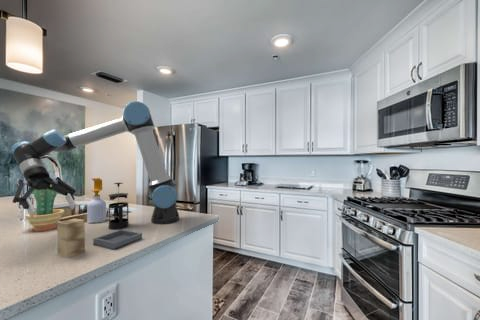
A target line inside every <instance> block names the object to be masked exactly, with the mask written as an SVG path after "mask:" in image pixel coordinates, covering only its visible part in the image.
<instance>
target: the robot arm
mask: <svg viewBox="0 0 480 320" xmlns="http://www.w3.org/2000/svg"><path fill="white" fill-rule="evenodd" d="M154 129H155V124H154V121H153V118H152V115H151V111H150V109H149V107H148V106H147V105H146V104H144V102H142V101H136V100H135V101H130V102H127V104H125V106H124V108H123V109H122V115H121V117H120V118H116V119H113V120H110V121H106V122H104V123H100V124H98V125H94V126H91V127H87V128H84V129H81V130H78V131H74V132H71V133H69V134H64V135H63V134H62V132H60V131H59V130H58V129H57V130H56V129H50V130H49V131H47V132H45V133H43V134H42V135H40V136H38V137H37V138H35V139H34V140H32V141H21V142H16V143H15V144H12V146H11V147H10V149H11V153H12V157H13V158H14V160H15V162H16V164H17V165H18V168H19V169H20V171H21V174H22V176H23V178H24V180H23V179H19V180H18V181H17V183H16V186H17V189H16V191H15V194H14V197H13V199H12V204H16V203H18V205H21V207H22V208H23V210H27V214H29V215H30V217H33V216H34V214H35V212H37V210H35V207H34V205H33V203H32V201H31V200H30V198H29V197H30V196H31V195H32V194H33V191H34V190H35V189H36V190H42V189H49V190H54V191H56V192H57V194H61V195H62V196H65V200H66V201H67V203H68V206H69V207H70V209H71V210H74V209H75V208H76V206H77V203H76V202H75V196H74V194H75V193H76V189H74V188H73V187H72V186H70V185H69V184H67V183H66V182H65V181H63V180H62V179H61V177H59V176H56V178H51V176H50V174H49V172H48V170H47V168H46V165H44V162H43V160H42V159H41V158H43V157H45V156H47V155H49V154H51V153H52V152H59V153H67V152H71V151H72V150H74V149H77V148H79V147H80V148H81V147H83V146H86V145H89V144H92V143H95V142H99V141H102V140H104V139H108V138H111V137H114V136H117V135H121V134H123V133H126V132H127V133H130V134H131V135H134V136H135V139H136V143H137V146H138V150H139V151H140V154H141V158H142V161H143V163H144V166H145V168H146V169H145V170H146V172H147V175H148V177H149V180H150V181H149V184H148V188H149V191H150V194H151V200H152V203H153V204H154V209H153V211H152V214H151V219H150V220H151V221H150V222H151V223H153V224H156V225H164V224H165V225H166V224H171V223H176V222H177V221H180V215H179V211H178V209H177V199H178V192H177V190H176V189H177V184H176V180H174V179H173V178H172V177H171V176H169V175H168V173H167V170H166V167H165V164H164V161H163V158H162V154H161V152H160V149H159V147H158V143H157V140H156V137H155V135H154ZM50 185H52V186H51V187H50ZM25 186H28V187H29V188H28V190H27V191H26V192H25V193H24V194H23V195H22V197H21V194H22V191H23V188H24V187H25Z"/></svg>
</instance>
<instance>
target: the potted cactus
mask: <svg viewBox="0 0 480 320" xmlns="http://www.w3.org/2000/svg"><path fill="white" fill-rule="evenodd" d="M51 186H52V185H50V187H51ZM32 194H33V197H34V199H35V203H36V206H35V207H36V212H35V214H34V216H33V217H30V215H29V213H26V214H25V215H24V217H25V219H26V220H27V221H28V223H29V224H30V225H31V226H32V227H33V228H34V229H33V231H35V232H39V231H48V230H52V229H56V228H57V222H60V221H61V219H62V215H64V213H65V209H62V208H61V209H60V208H59V209H58V208H57V209H54V204H55V200H56V197H57V195H58V192H56V191H54V190H49V189H42V190H36V189H35V190H34V191H33V192H32Z"/></svg>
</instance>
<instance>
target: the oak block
mask: <svg viewBox="0 0 480 320" xmlns="http://www.w3.org/2000/svg"><path fill="white" fill-rule="evenodd" d="M85 227H86V225H85V219H82V218H80V219H79V218H72V219H71V218H70V219H67V220H66V219H65V220H62V221H58V222H57V227H56V229H57V230H56V231H57V240H56V241H57V255H58V256H60V257H64V258H66V259H68V258H71V257H74V256H76V255H79V254H82V253H85V252H86V242H85V241H86V238H85V235H86V234H85Z"/></svg>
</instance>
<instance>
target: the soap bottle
mask: <svg viewBox="0 0 480 320" xmlns="http://www.w3.org/2000/svg"><path fill="white" fill-rule="evenodd" d="M91 180H92V181H93V189H92V190H91V192H93V193H94V194H93V196H92V199H91V200H90V201H89V202H88V203H87V205H86V206H87V208H86V211H87V213H86V216H87V217H86V218H87V221H86V222H87V223H88V224H99V223H102V221H103V222H104V221H107V203H106V201H105V200H104V199H101V195H100V194H99V193H100V192H101V191H103V179H101V178H100V177H98V178H91ZM94 222H95V223H94ZM98 222H99V223H98Z"/></svg>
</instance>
